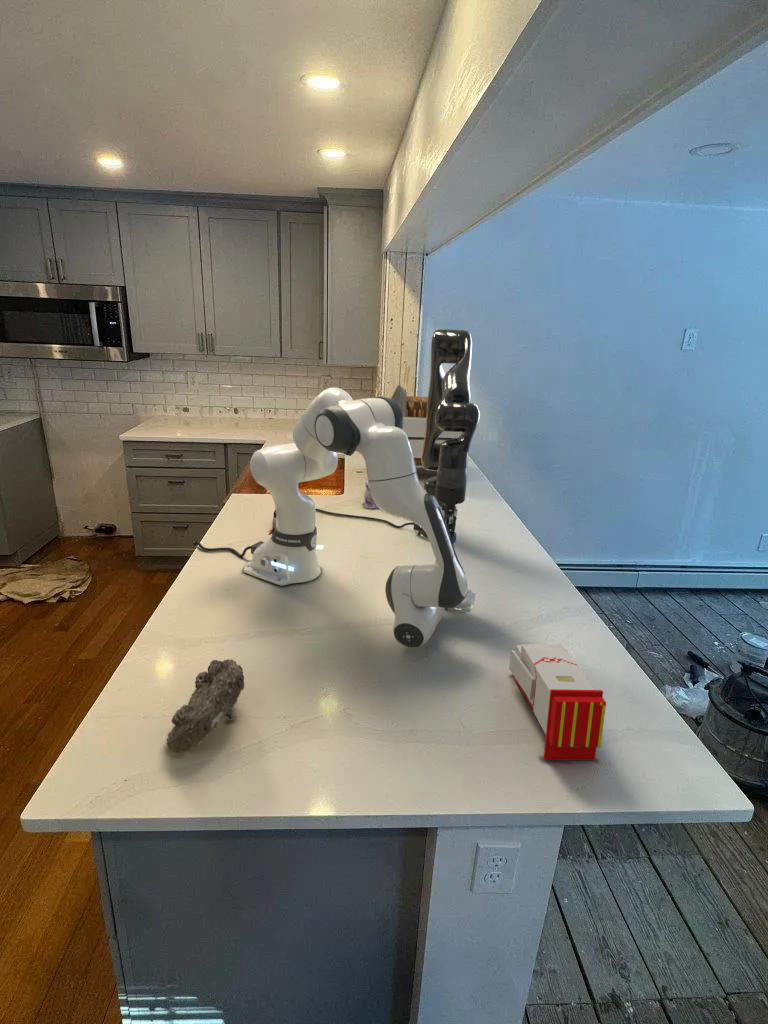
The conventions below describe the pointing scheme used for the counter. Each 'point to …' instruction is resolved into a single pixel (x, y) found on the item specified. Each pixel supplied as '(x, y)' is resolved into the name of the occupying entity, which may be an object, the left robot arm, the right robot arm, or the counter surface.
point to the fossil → (206, 705)
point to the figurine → (369, 497)
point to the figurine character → (274, 519)
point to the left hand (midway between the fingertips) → (442, 581)
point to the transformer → (417, 422)
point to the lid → (453, 537)
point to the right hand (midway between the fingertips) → (445, 544)
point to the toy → (560, 700)
